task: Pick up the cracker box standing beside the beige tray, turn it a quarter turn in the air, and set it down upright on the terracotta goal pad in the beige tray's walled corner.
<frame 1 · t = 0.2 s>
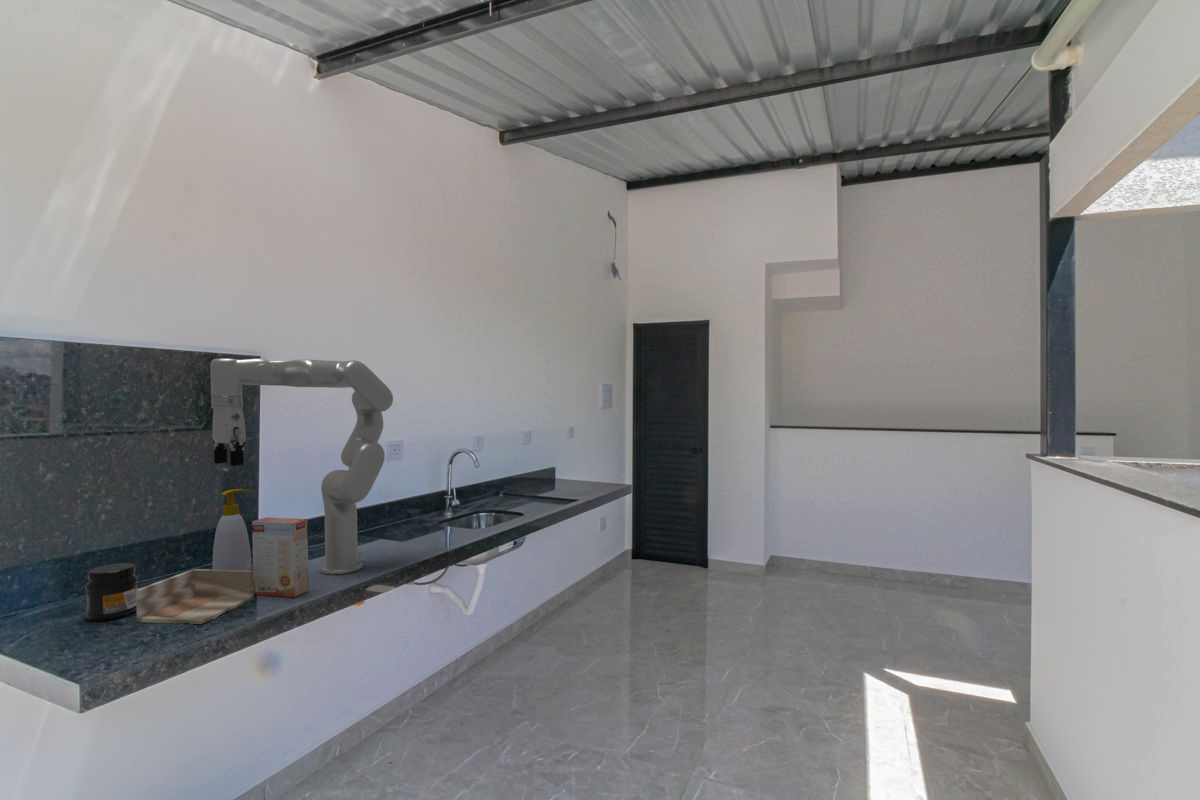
hand: (228, 464, 172), 37 cm above the worktop, tool pointing down, fingers open, 9 cm apart
cracker box: (281, 594, 174), on the worktop
beige tray: (198, 610, 161), on the worktop
soap bottle: (232, 574, 193), on the worktop
supplement container: (112, 615, 158), on the worktop
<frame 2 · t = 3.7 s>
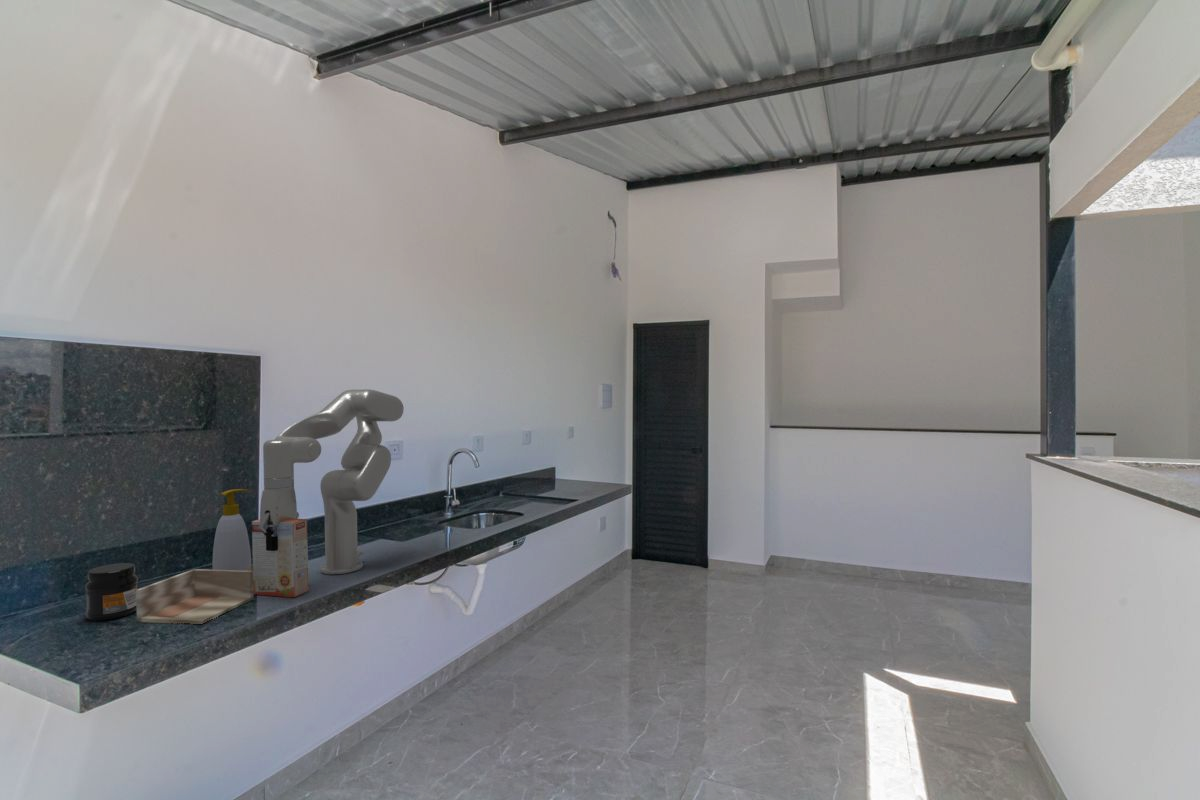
hand: (280, 546, 173), 13 cm above the worktop, tool pointing down, fingers closed on cracker box, 6 cm apart
cracker box: (281, 594, 174), on the worktop, touching gripper
everything else where it was.
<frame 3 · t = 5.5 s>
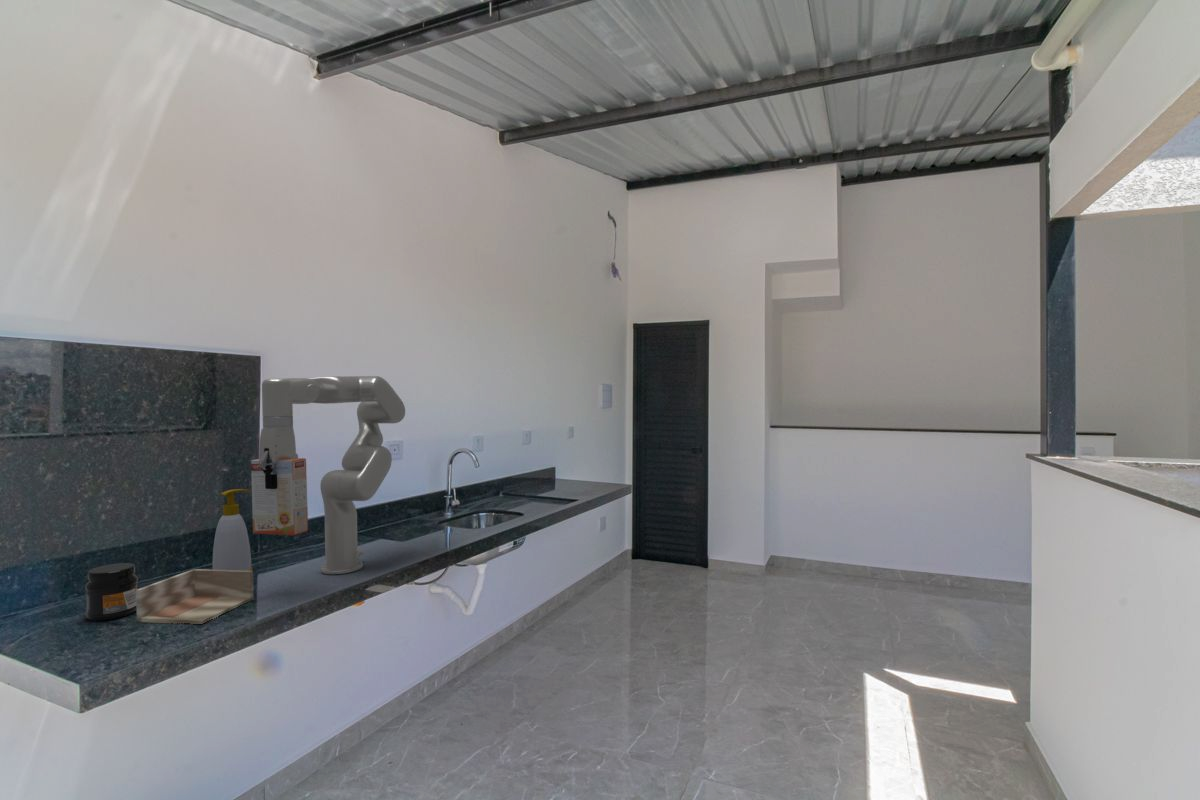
hand: (279, 486, 173), 30 cm above the worktop, tool pointing down, fingers closed on cracker box, 6 cm apart
cracker box: (281, 533, 174), point 17 cm above the worktop, touching gripper
everything else where it was.
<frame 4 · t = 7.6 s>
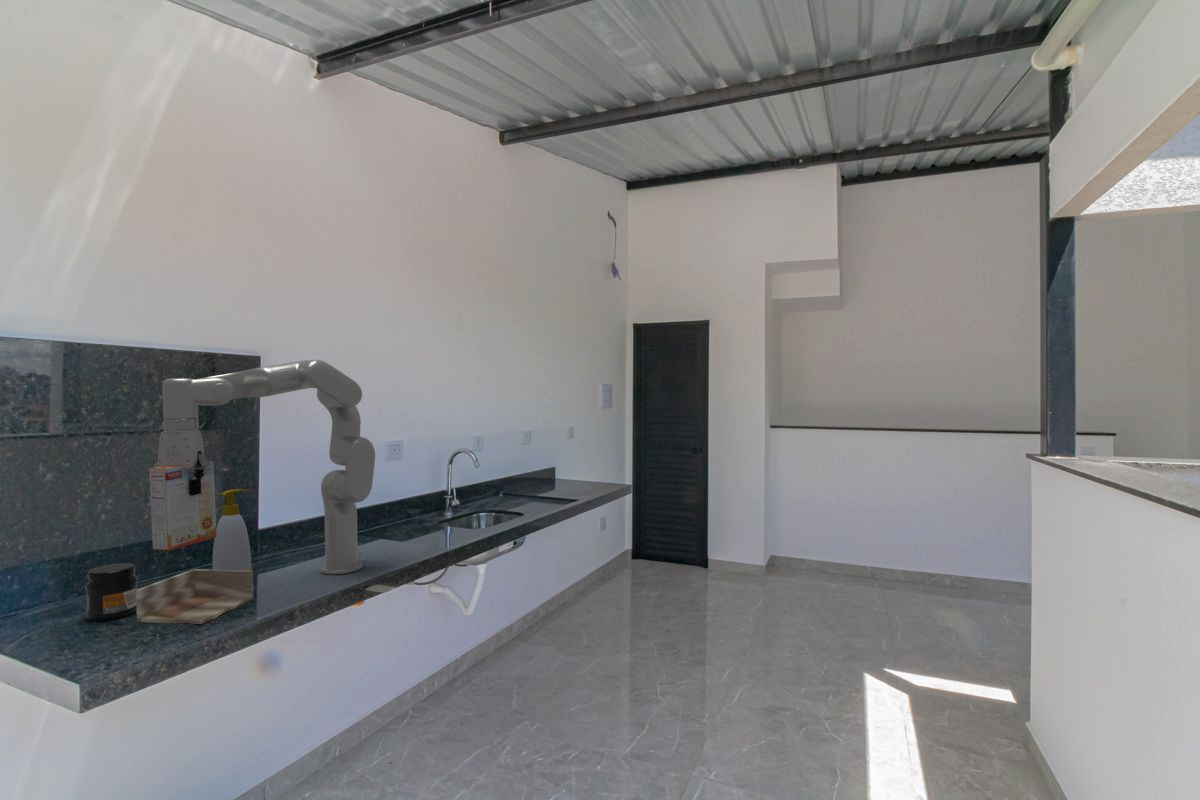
hand: (183, 493, 161), 30 cm above the worktop, tool pointing down, fingers closed on cracker box, 6 cm apart
cracker box: (185, 544, 161), point 17 cm above the worktop, touching gripper
everything else where it was.
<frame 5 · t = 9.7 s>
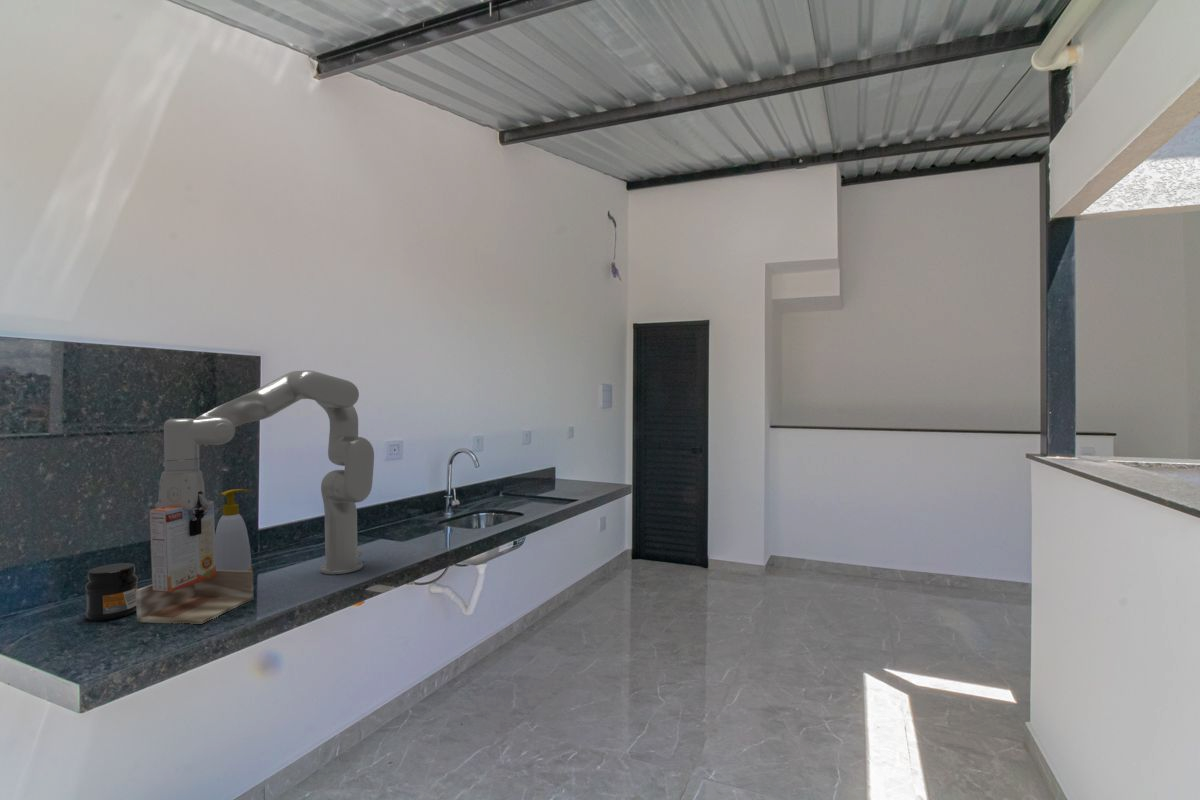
hand: (183, 534, 161), 20 cm above the worktop, tool pointing down, fingers closed on cracker box, 6 cm apart
cracker box: (184, 584, 161), point 7 cm above the worktop, touching gripper
everything else where it was.
when the fingers open (15 cm above the worktop, at t = 11.5 s): cracker box drops 1 cm, resting on beige tray.
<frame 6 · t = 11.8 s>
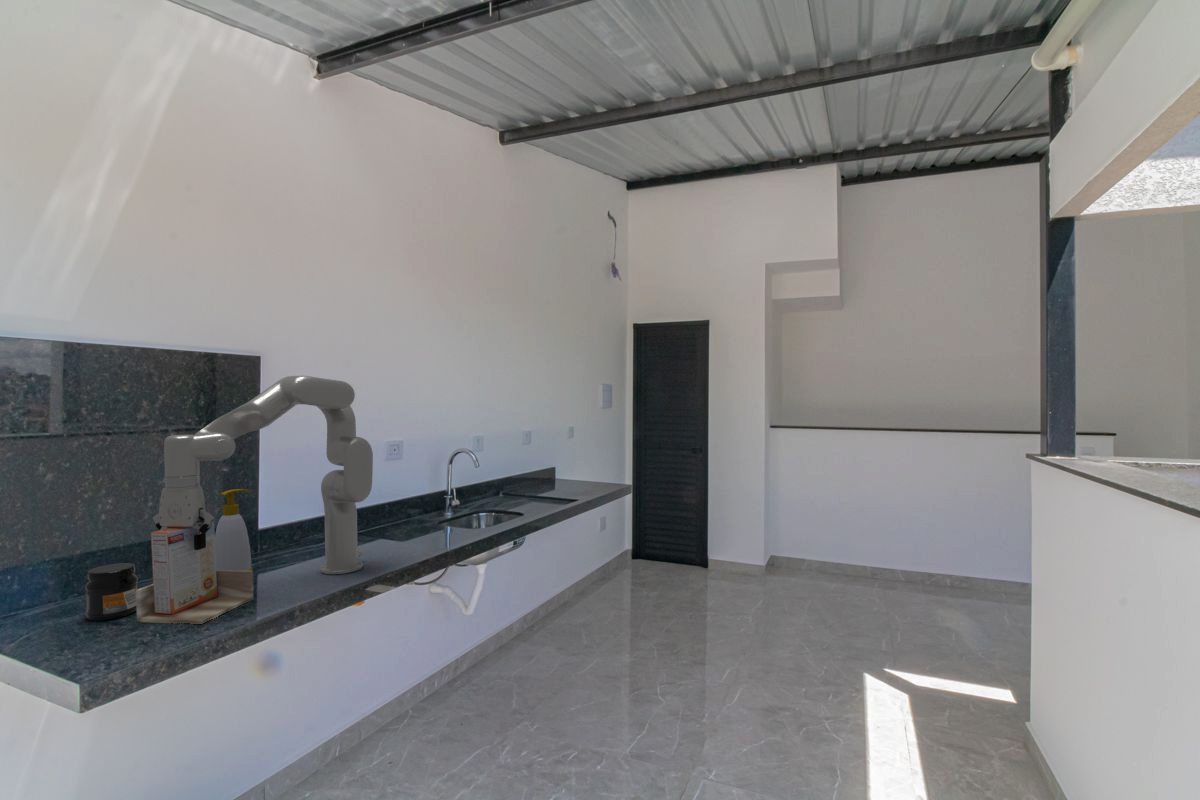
hand: (184, 548, 161), 16 cm above the worktop, tool pointing down, fingers open, 8 cm apart
cracker box: (186, 606, 161), point 1 cm above the worktop, touching beige tray
everything else where it was.
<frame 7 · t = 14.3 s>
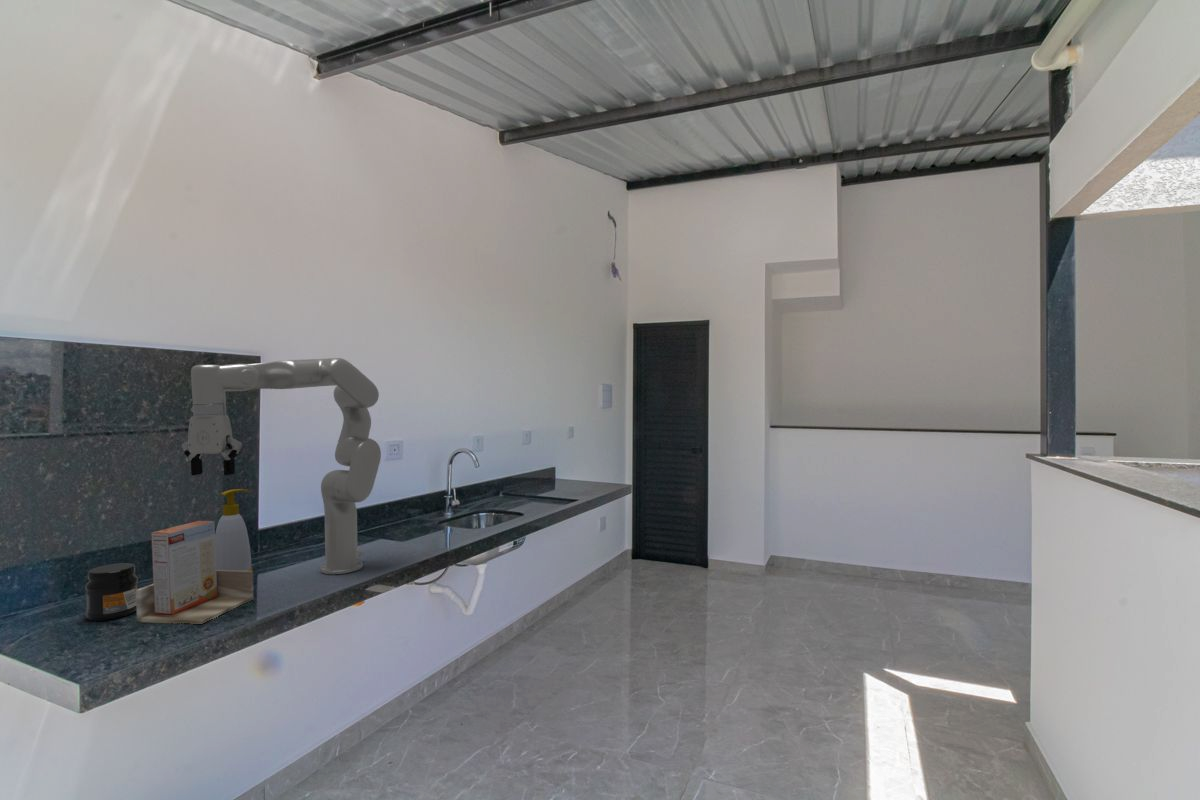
hand: (213, 474, 165), 35 cm above the worktop, tool pointing down, fingers open, 9 cm apart
nothing on the worktop moved.
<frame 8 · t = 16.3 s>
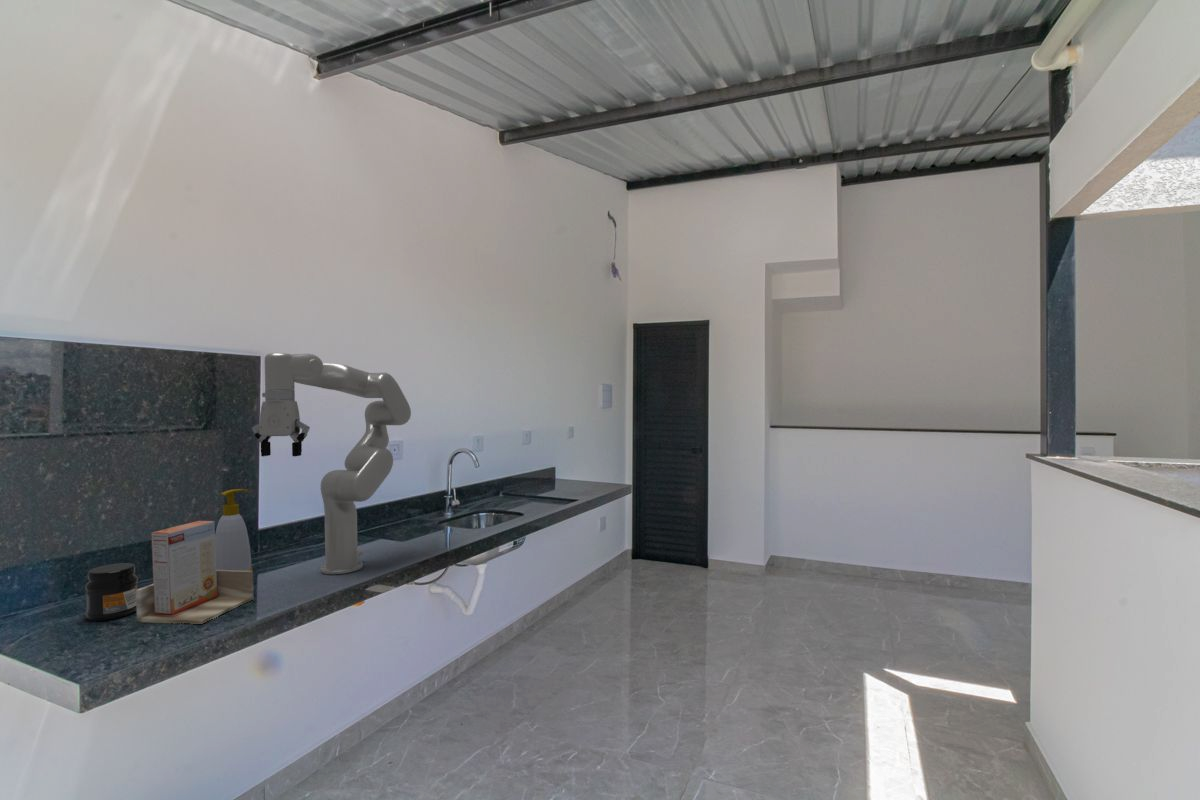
hand: (281, 455, 177), 38 cm above the worktop, tool pointing down, fingers open, 9 cm apart
nothing on the worktop moved.
at the end: cracker box 0.3 cm from the target spot on the beige tray, point 0.9 cm above the beige tray's base; cracker box tilted 0°; the gripper is holding nothing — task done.
